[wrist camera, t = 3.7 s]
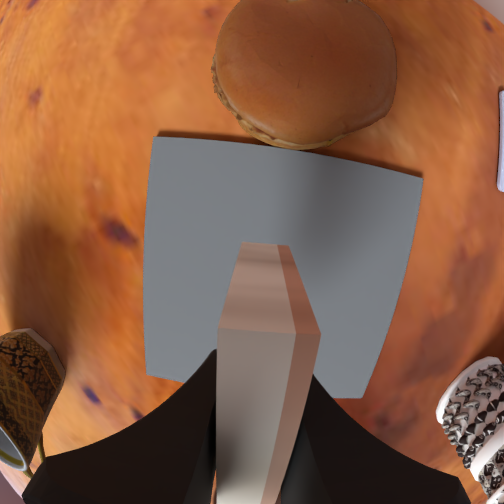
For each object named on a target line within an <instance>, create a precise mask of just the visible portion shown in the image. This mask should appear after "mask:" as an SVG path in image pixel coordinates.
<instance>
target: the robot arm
mask: <svg viewBox="0 0 504 504" xmlns="http://www.w3.org/2000/svg"><path fill="white" fill-rule="evenodd" d="M499 99H500V151H499V167H498V178H497V187H498V189H499V190H500V191H502V192H504V90H503V91H500V93H499ZM216 378H217V349H214V350H213V351H211V352H210V354H209V355H208V357H207V358H206V359H205V361H204V362H203V363H202V365H201V366H200V367H199V368H198V369H197V370H196V372H195V373H194V374H193V375H192V376H191V377H190V378H189V379H188V380H187V381H186V382H185V383H184V384H183V385H182V386H181V387H180V388H179V389H178V390H177V391H176V392H175V393H174V394H173V395H172V396H170V397H169V398H168V399H167V400H166V401H165V402H164V403H162V404H161V405H160V406H159V407H157V408H156V409H155V410H153V411H152V412H150V413H149V414H148V415H146V416H145V417H143V418H142V419H140V420H138V421H137V422H135V423H134V424H132V425H130V426H129V427H127V428H125V429H123V430H121V431H120V432H118V433H116V434H113V435H111V436H109V437H107V438H105V439H102V440H100V441H98V442H95V443H93V444H90V445H88V446H85V447H82V448H79V449H75V450H72V451H68V452H65V453H61V454H57V455H53V456H48V457H46V458H45V460H44V461H43V462H42V463H41V465H40V466H39V467H38V469H37V470H36V472H35V474H34V475H33V477H32V478H31V480H30V482H29V483H28V485H27V487H26V488H25V490H24V492H23V493H22V498H23V500H24V502H25V503H26V504H210V502H211V494H212V487H213V481H214V476H215V471H216ZM281 504H471V502H470V500H469V498H468V496H467V494H466V492H465V490H464V488H463V486H462V484H461V482H460V480H459V478H458V477H456V476H453V475H450V474H447V473H444V472H441V471H438V470H436V469H433V468H430V467H428V466H425V465H423V464H421V463H419V462H417V461H415V460H413V459H411V458H409V457H407V456H405V455H403V454H401V453H399V452H398V451H396V450H394V449H393V448H391V447H390V446H388V445H386V444H385V443H383V442H382V441H380V440H379V439H377V438H376V437H375V436H373V435H372V434H371V433H369V432H368V431H367V430H365V429H364V428H363V427H362V426H361V425H359V424H358V423H357V422H356V421H355V420H353V419H352V418H351V417H350V416H349V415H348V414H347V413H346V412H345V411H344V410H343V409H342V408H341V407H340V406H339V405H338V404H337V402H336V401H335V400H334V399H333V398H332V397H331V396H330V394H329V393H328V392H327V391H326V390H325V388H324V387H323V386H322V385H321V384H320V382H319V381H318V380H317V378H316V377H315V376H314V374H313V375H312V379H311V383H310V387H309V391H308V396H307V399H306V403H305V407H304V411H303V415H302V419H301V422H300V426H299V429H298V433H297V436H296V440H295V443H294V447H293V450H292V453H291V457H290V460H289V463H288V466H287V469H286V473H285V476H284V479H283V482H282V485H281Z"/></svg>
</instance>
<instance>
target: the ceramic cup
mask: <svg viewBox="0 0 504 504" xmlns="http://www.w3.org/2000/svg"><path fill="white" fill-rule="evenodd" d="M64 378H65V370H64V368H63V366H62V364H61V362H60V360H59V358H58V356H57V354H56V352H55V350H54V348H53V346H52V345H51V344H49V343H48V342H47V341H46V340H45V339H43V338H42V337H41V336H40V335H39V334H38V333H36V332H35V331H34V330H33V329H32V328H26V329H17V330H13V331H11V332H9V333H6V334H4V335H2V336H0V460H1V461H2V462H3V463H5V464H7V465H8V466H10V467H12V468H14V469H16V470H19V471H23V473H24V474H25V475H26V476H28V477H29V478H32V477H33V475H34V474H33V473H32V472H31V470H30V467H29V465H30V463H31V461H32V458H33V456H34V453H35V451H36V448H37V445H38V449H39V453H40V458H41V462H43V461H44V460H45V458H46V457H45V452H44V448H43V434H42V429H43V427H44V424H45V422H46V420H47V417H48V415H49V413H50V411H51V409H52V406H53V404H54V402H55V401H56V399H57V397H58V395H59V393H60V391H61V389H62V385H63V382H64Z"/></svg>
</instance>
